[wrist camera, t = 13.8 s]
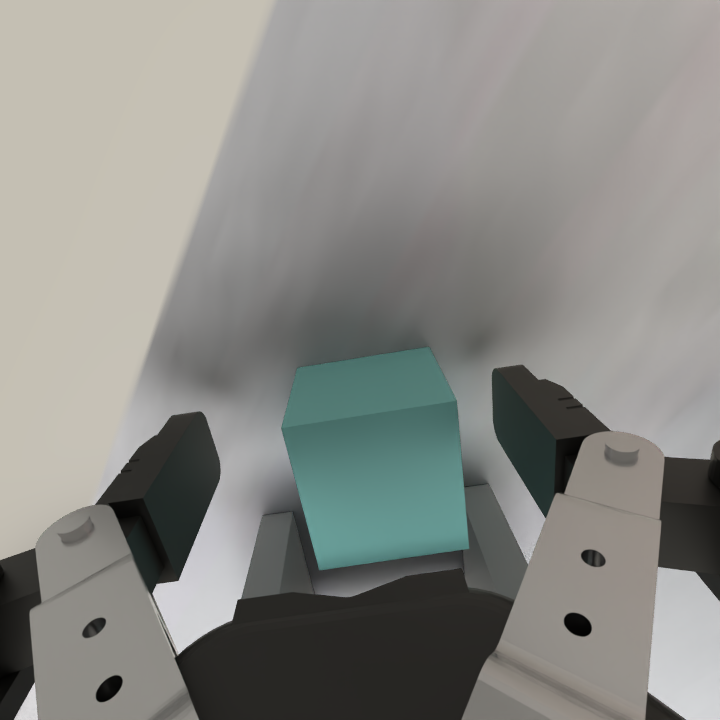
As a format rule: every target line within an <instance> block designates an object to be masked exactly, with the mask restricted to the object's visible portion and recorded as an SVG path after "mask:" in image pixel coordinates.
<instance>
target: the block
mask: <svg viewBox="0 0 720 720" xmlns="http://www.w3.org/2000/svg"><path fill="white" fill-rule="evenodd" d="M281 429H282V432H283V436H284V440H285V444H286V447H287V451H288V455H289V459H290V462H291V466H292V470H293V474H294V477H295V481H296V485H297V489H298V492H299V496H300V500H301V504H302V507H303V511H304V515H305V518H306V522H307V526H308V530H309V533H310V537H311V541H312V545H313V548H314V552H315V556H316V560H317V563H318V567H319V570H326V569H333V568H340V567H347V566H354V565H361V564H368V563H375V562H381V561H388V560H395V559H402V558H409V557H416V556H423V555H430V554H437V553H444V552H451V551H458V550H465V549H469V541H468V529H467V517H466V505H465V493H464V481H463V469H462V457H461V445H460V433H459V421H458V409H457V400H456V398H455V396H454V394H453V392H452V390H451V388H450V386H449V385H448V383H447V381H446V379H445V377H444V375H443V373H442V371H441V369H440V367H439V365H438V363H437V361H436V359H435V357H434V355H433V353H432V351H431V349H430V348H429V347H424V348H418V349H411V350H405V351H399V352H393V353H386V354H380V355H374V356H368V357H361V358H355V359H349V360H343V361H337V362H330V363H324V364H318V365H312V366H305V367H299V368H297V371H296V375H295V379H294V382H293V386H292V390H291V394H290V397H289V401H288V405H287V408H286V412H285V416H284V420H283V423H282V427H281Z"/></svg>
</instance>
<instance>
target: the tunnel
mask: <svg viewBox="0 0 720 720" xmlns="http://www.w3.org/2000/svg"><path fill="white" fill-rule="evenodd" d="M464 493H465V505H466V517H467V529H468V541H469V549H465V550H463V560H464V573H465V580H466V583H467V586H468V587H471V588H478V589H483V590H488V591H492V592H495V593H498V594H501V595H504V596H507V597H509V598H512V599H514V600H515V599H516V596H517V594H518V591H519V589H520V586H521V583H522V581H523V578H524V575H525V573H526V570H527V567H528V564H527V562H526V560H525V558H524V556H523V554H522V551H521V549H520V547H519V545H518V543H517V541H516V539H515V537H514V535H513V533H512V531H511V529H510V527H509V524H508V522H507V520H506V518H505V516H504V514H503V512H502V510H501V508H500V506H499V504H498V502H497V500H496V497H495V495H494V493H493V491H492V489H491V487H490V485H489V484H485V485H478V486H470V487H464ZM289 592H297V593H306V594H314V591H313V587H312V583H311V579H310V576H309V572H308V568H307V564H306V560H305V557H304V553H303V549H302V545H301V541H300V538H299V534H298V530H297V526H296V522H295V519H294V515H293V511H292V512H285V513H278V514H271V515H264V516H262V519H261V523H260V527H259V531H258V535H257V539H256V543H255V547H254V551H253V555H252V559H251V563H250V567H249V571H248V575H247V579H246V582H245V586H244V590H243V594H242V598H241V599H246V598H254V597H261V596H268V595H275V594H282V593H289Z"/></svg>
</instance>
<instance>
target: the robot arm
mask: <svg viewBox="0 0 720 720" xmlns="http://www.w3.org/2000/svg"><path fill="white" fill-rule="evenodd" d="M492 400H493V424H494V429H495V433H496V436H497V439H498V441H499V443H500V444H501V446H502V448H503V449H504V451H505V453H506V454H507V456H508V458H509V459H510V461H511V462H512V464H513V466H514V467H515V469H516V471H517V472H518V474H519V476H520V477H521V479H522V480H523V482H524V484H525V485H526V487H527V489H528V490H529V492H530V494H531V495H532V497H533V498H534V500H535V502H536V503H537V505H538V507H539V508H540V510H541V512H542V513H543V515H544V516H545V518H546V520H545V523H544V525H543V528H542V530H541V533H540V536H539V538H538V541H537V544H536V546H535V549H534V552H533V554H532V557H531V559H530V562H529V565H528V567H527V570H526V573H525V575H524V578H523V581H522V583H521V586H520V589H519V591H518V594H517V596H516V599H515V600H514V599H512V598H509V597H507V596H504V595H501V594H498V593H495V592H492V591H488V590H483V589H478V588H471V587H468V586H467V583H466V580H465V576H464V573H463V570H462V568H461V569H454V570H447V571H440V572H433V573H425V574H418V575H411V576H406V577H403V578H400V579H398V580H395V581H393V582H390V583H387V584H385V585H382V586H380V587H377V588H374V589H372V590H369V591H366V592H364V593H361V594H359V595H356V596H353V597H336V596H326V595H316V594H306V593H297V592H289V593H282V594H275V595H268V596H261V597H254V598H246V599H239V600H238V601H237V605H236V609H235V613H234V617H233V621H230V622H228V623H225V624H223V625H221V626H219V627H217V628H215V629H213V630H212V631H210V632H208V633H207V634H205V635H204V636H202V637H200V638H199V639H197V640H196V641H195V642H193V643H192V644H191V645H189V646H188V647H187V648H186V649H184V650H183V651H182V652H181V653H180V654H178V651H177V649H176V647H175V644H174V642H173V640H172V638H171V635H170V633H169V631H168V628H167V626H166V624H165V621H164V619H163V617H162V614H161V612H160V610H159V608H158V605H157V603H156V601H155V599H154V596H153V594H152V593H153V591H154V588H155V586H156V584H160V583H167V582H174V581H178V580H179V578H180V576H181V573H182V571H183V568H184V566H185V563H186V561H187V558H188V556H189V553H190V551H191V549H192V546H193V544H194V541H195V539H196V536H197V534H198V531H199V529H200V527H201V524H202V522H203V519H204V517H205V514H206V512H207V509H208V507H209V505H210V502H211V500H212V497H213V495H214V492H215V490H216V487H217V485H218V483H219V479H220V472H221V470H220V461H219V457H218V454H217V451H216V447H215V444H214V441H213V438H212V435H211V432H210V429H209V426H208V423H207V420H206V417H205V415H204V414H203V413H202V412H200V411H199V412H192V413H186V414H179V415H173V416H171V417H170V418H169V420H168V421H167V423H166V424H165V425H164V427H163V428H162V429H161V431H160V432H159V434H158V435H156V436H153V437H152V438H151V439H150V440H148V441H147V442H146V443H144V444H143V445H142V446H140V447H139V448H138V449H137V451H136V452H135V453H134V454H133V456H132V457H131V458H130V460H129V463H127V464H126V465H125V466H124V468H123V469H122V470H121V474H118V475H117V477H116V478H115V479H114V481H113V482H112V483H111V485H110V486H109V487H108V488H107V490H106V491H105V492H104V494H103V495H102V496H101V498H100V499H99V500H98V502H97V503H96V504H95V505H92V506H88V507H84V508H81V509H78V510H76V511H74V512H72V513H70V514H68V515H66V516H64V517H62V518H61V519H59V520H58V521H56V522H55V523H53V524H52V525H51V526H50V527H49V528H47V530H45V532H43V534H42V535H41V536H40V538H39V539H38V541H37V543H36V547H35V548H34V549H31V550H29V551H26V552H23V553H20V554H17V555H14V556H11V557H8V558H6V559H3V560H0V720H14V718H15V716H16V714H17V713H18V711H19V709H20V707H21V706H22V704H23V702H24V700H25V698H26V697H27V695H28V693H29V691H30V690H31V688H32V686H33V684H34V682H35V688H36V700H37V712H38V720H686V719H684V718H683V717H682V716H680V715H679V714H677V713H676V712H675V711H673V710H672V709H671V708H669V707H668V706H666V705H665V704H664V703H662V702H661V701H659V700H658V699H657V698H655V697H654V696H653V695H651V694H650V693H648V692H647V691H648V678H649V666H650V654H651V642H652V630H653V618H654V606H655V594H656V582H657V570H658V567H663V568H671V569H679V570H686V571H694V572H696V573H697V574H698V576H699V577H700V578H701V579H702V580H703V582H704V583H705V584H706V585H707V586H708V588H709V589H710V590H711V591H712V592H713V594H714V595H715V596H716V597H717V599H718V600H719V601H720V440H719V441H718V442H716V443H715V444H714V446H713V449H712V454H711V459H710V460H704V459H687V458H671V457H664V454H663V452H662V451H661V450H660V448H659V447H657V446H656V445H655V444H654V443H652V442H650V441H649V440H647V439H645V438H642V437H640V436H637V435H633V434H629V433H624V432H615V431H610V430H609V429H608V428H607V427H606V426H605V425H604V424H603V423H602V422H601V421H599V420H598V419H597V418H596V417H595V416H594V415H593V414H592V413H591V412H590V411H589V410H587V409H586V408H585V407H583V406H582V404H581V403H580V402H579V401H578V400H577V399H574V398H573V396H572V395H571V394H570V393H569V392H568V391H567V390H566V389H565V388H564V387H562V386H560V385H558V384H555V383H553V382H551V381H549V380H546V379H543V380H538V379H537V378H536V377H535V376H534V375H533V374H532V373H531V372H530V371H529V370H528V369H527V368H526V367H525V366H524V365H516V366H509V367H502V368H495V369H494V370H493V372H492Z"/></svg>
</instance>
